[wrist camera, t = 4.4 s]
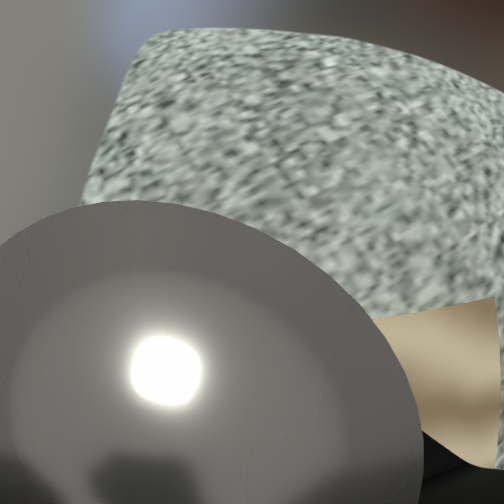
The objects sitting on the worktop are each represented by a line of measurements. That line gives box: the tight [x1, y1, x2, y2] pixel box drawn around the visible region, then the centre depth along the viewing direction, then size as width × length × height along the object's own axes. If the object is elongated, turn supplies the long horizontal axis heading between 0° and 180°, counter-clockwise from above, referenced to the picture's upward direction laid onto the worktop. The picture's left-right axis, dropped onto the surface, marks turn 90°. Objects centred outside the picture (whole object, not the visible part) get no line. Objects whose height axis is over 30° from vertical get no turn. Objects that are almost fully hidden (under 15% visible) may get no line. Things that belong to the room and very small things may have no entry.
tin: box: [0, 200, 424, 504], centre depth 8 cm, size 6×6×13 cm
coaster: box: [372, 297, 500, 469], centre depth 13 cm, size 12×12×1 cm
